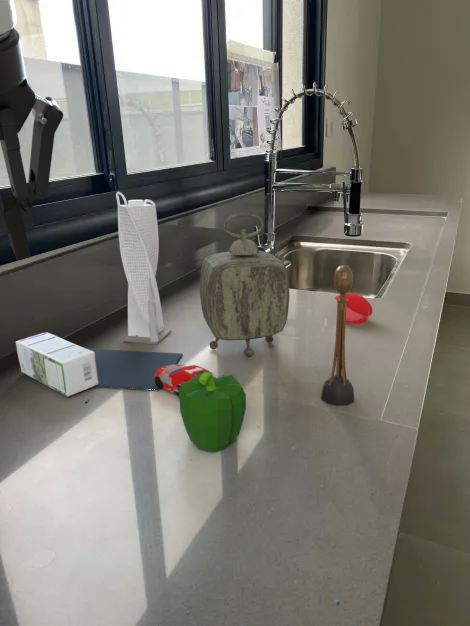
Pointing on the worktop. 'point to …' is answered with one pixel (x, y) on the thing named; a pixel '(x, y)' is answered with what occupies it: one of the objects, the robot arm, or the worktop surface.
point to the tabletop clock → (244, 291)
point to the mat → (130, 367)
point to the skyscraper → (141, 269)
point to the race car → (176, 376)
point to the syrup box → (57, 363)
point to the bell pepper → (212, 410)
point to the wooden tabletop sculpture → (340, 346)
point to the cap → (357, 308)
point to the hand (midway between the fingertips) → (20, 250)
